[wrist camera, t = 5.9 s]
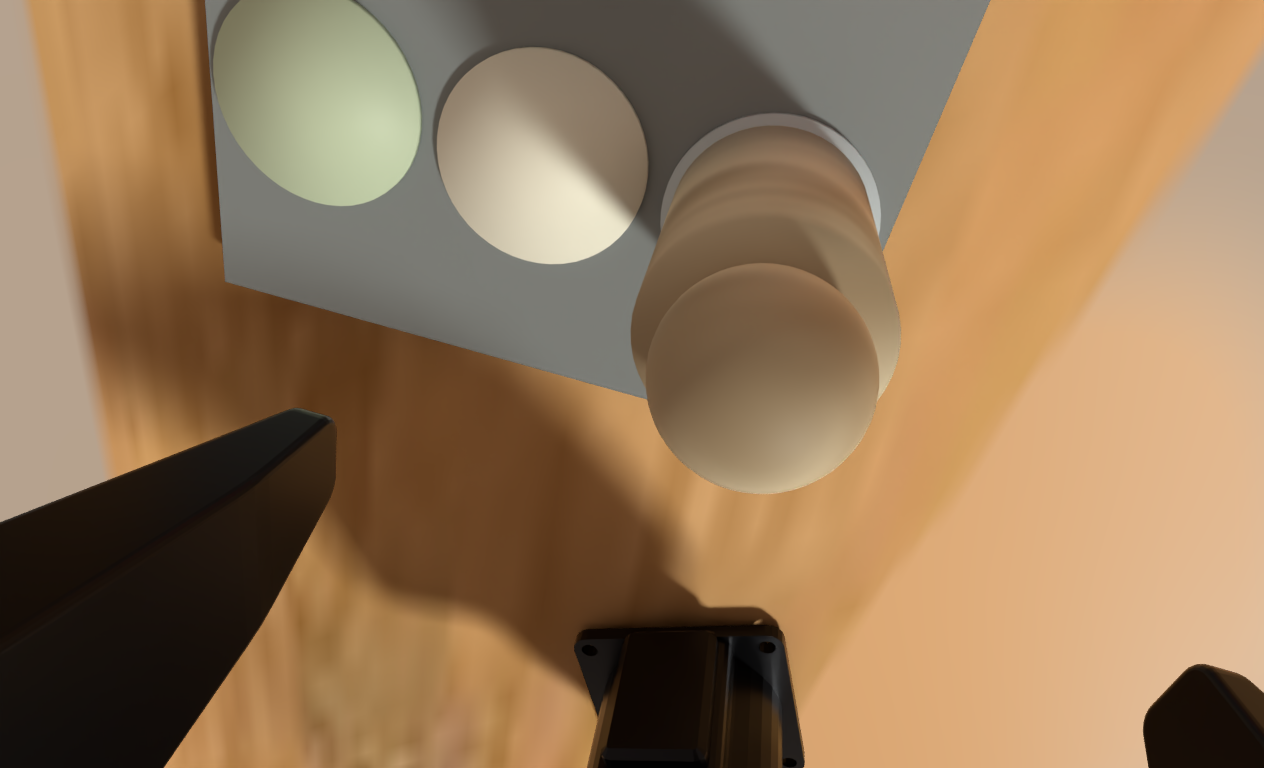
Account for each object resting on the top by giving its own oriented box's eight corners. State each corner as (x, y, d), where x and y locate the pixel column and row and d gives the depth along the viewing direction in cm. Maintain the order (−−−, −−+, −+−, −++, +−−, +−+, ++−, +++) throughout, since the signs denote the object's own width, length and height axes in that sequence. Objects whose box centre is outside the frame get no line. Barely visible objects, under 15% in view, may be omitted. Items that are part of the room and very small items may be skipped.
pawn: (876, 302, 17) (932, 559, 10) (688, 324, 18) (633, 572, 11) (863, 107, 15) (921, 275, 8) (652, 145, 16) (561, 320, 9)
